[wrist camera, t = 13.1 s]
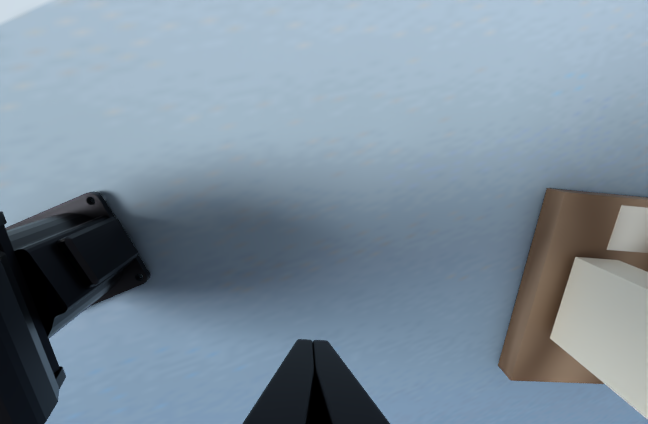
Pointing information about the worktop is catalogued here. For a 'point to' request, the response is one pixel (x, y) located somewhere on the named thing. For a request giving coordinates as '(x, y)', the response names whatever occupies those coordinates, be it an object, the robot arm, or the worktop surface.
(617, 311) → the cream eraser-shaped block
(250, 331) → the worktop surface
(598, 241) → the board
